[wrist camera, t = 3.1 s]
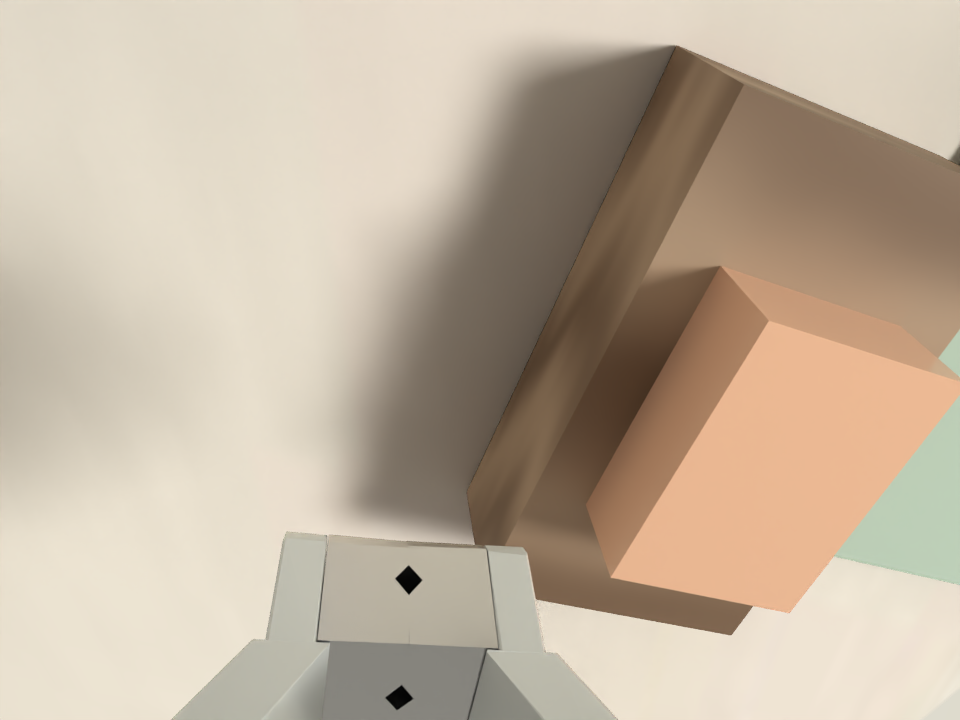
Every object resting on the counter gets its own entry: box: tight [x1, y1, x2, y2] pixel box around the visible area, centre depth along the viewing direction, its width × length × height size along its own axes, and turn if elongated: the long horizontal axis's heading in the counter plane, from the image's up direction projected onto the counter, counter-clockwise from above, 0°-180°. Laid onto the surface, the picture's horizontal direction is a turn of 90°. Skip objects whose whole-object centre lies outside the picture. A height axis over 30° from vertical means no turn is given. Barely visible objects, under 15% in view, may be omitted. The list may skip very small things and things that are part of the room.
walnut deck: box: [467, 46, 960, 635], centre depth 21 cm, size 14×8×4 cm, turn 159°
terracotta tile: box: [586, 266, 960, 613], centre depth 19 cm, size 7×5×2 cm
